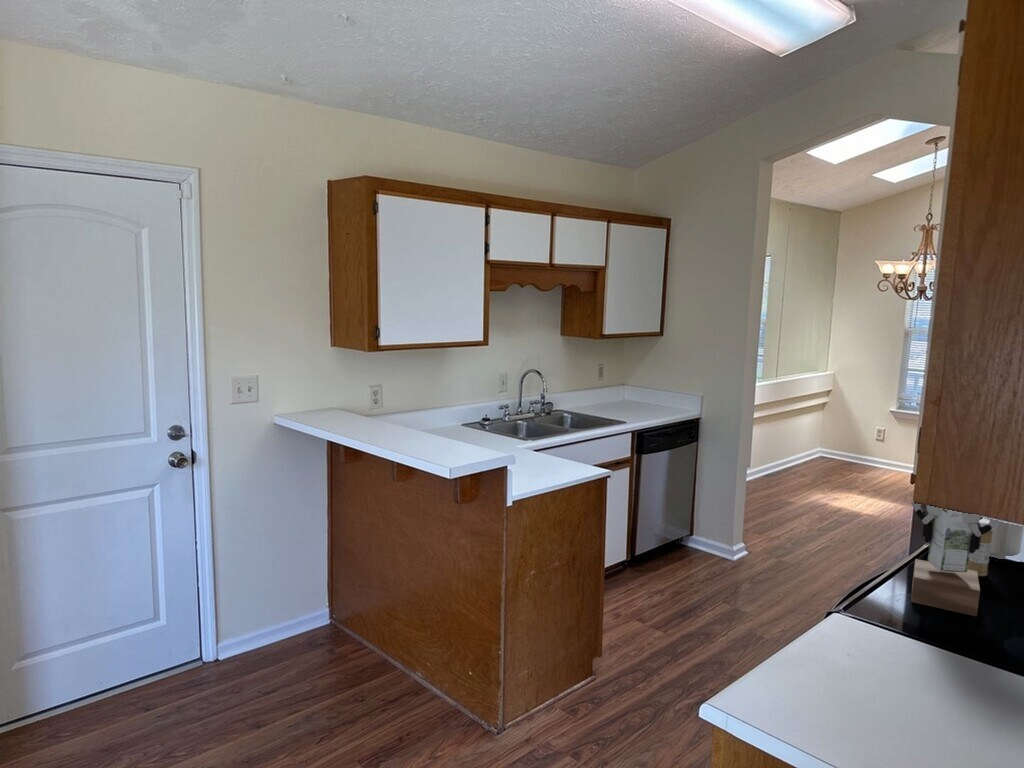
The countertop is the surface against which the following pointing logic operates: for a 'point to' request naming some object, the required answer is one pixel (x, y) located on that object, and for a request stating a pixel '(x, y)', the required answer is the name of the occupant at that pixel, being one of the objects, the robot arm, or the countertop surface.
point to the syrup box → (950, 542)
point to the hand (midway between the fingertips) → (949, 545)
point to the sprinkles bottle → (981, 552)
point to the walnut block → (945, 588)
